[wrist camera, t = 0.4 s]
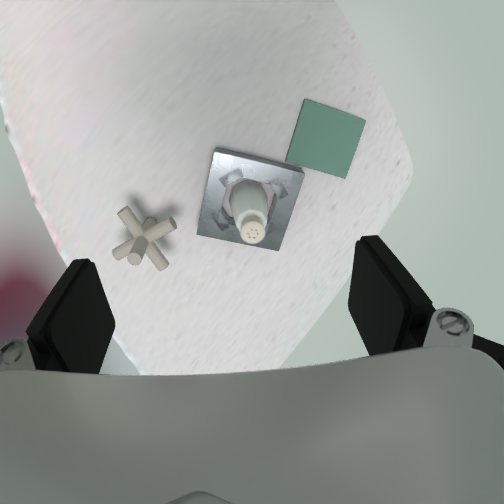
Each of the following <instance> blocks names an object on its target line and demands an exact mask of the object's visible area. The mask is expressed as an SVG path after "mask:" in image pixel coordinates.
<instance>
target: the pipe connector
mask: <svg viewBox="0 0 504 504" xmlns="http://www.w3.org/2000/svg"><path fill="white" fill-rule="evenodd" d="M117 215H118V216H119V217H120V219H121V220H122V222H123V223H124V224H125V226H126V227H127V229H128V230H129V231H130V233H131V234H132V236H133V238H132V239H130V240H128V241H126V242H125V243H123V244H121V245H120V246H118V247H116V248H114V249H113V251H112V253H113V256H114V258H115V259H116V260H121V259H122V258H124V257H126V256H128V257H127V259H128V261H129V263H130V264H132V265H139V264H140V263H141V261H142V258H143V256H144V254H145V253H146V254H147V256H148V257H149V258H150V260H151V261H152V262H153V264H154V265H155V266H156V268H157V269H158V270H159V271H162V270H164V269H166V268H167V267H168V265H169V262H168V261H167V259H166V258H165V257H164V255H163V254H162V253H161V251H160V250H159V249H158V247H157V246H156V245H155V243H154V242H153V241H155V240H157V239H158V238H160V237H162V236H164V235H166V234H168V233H170V232H171V231H173V230H175V229H177V225H176V222H175V221H174V219H173V218H172V217H169V218H167V219H165V220H163V221H161V222H160V223H158V224H157V221H156V220H155V219H154V218H148V219H147V220H146V221H145V223H144V225H143V226H142V225H141V224H140V222H139V221H138V219H137V218H136V216H135V215H134V214H133V212H132V211H131V209H130V208H129V206H126V207H124V208H123V209H121V210H120V211H119V212H118V213H117Z"/></svg>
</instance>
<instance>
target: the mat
mask: <svg viewBox="0 0 504 504" xmlns="http://www.w3.org/2000/svg"><path fill="white" fill-rule="evenodd" d="M365 122H366V120H363V119H361V118H358V117H355V116H353V115H350V114H347V113H345V112H342V111H339V110H336V109H334V108H331V107H328V106H325V105H322V104H319V103H316V102H313V101H310V100H307V99H304V102H303V105H302V108H301V111H300V115H299V118H298V121H297V124H296V127H295V131H294V134H293V137H292V140H291V144H290V147H289V150H288V153H287V156H286V160H285V161H286V162H289V163H293V164H296V165H300V166H304V167H307V168H311V169H314V170H318V171H321V172H324V173H328V174H331V175H334V176H338V177H341V178H344V179H345V178H346V176H347V173H348V170H349V167H350V165H351V162H352V159H353V156H354V154H355V151H356V148H357V145H358V142H359V140H360V137H361V134H362V131H363V128H364V125H365Z"/></svg>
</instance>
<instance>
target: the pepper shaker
mask: <svg viewBox="0 0 504 504" xmlns="http://www.w3.org/2000/svg"><path fill="white" fill-rule="evenodd" d="M229 202H230V206H231V210H232V214H233V217H234V221H235V224H236V226H237V228H238V229H239V231H240V235H241V238H242V239H243V240H244V241H245V242H247V243H250V244H255V243H258V242H260V241H261V240H263V238H264V236H265V232H266V231H265V227H266V224H267V219H268V216H267V194H266V193H265V191H264V189H263V187H262V185H261V184H260V183H256V182H253V181H249V180H245V181H243V182H241V183H239V184H237V185H235V186H233V188H232V191H231V195H230V198H229Z"/></svg>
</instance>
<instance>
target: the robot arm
mask: <svg viewBox="0 0 504 504" xmlns="http://www.w3.org/2000/svg"><path fill="white" fill-rule="evenodd" d="M348 308H349V312H350V314H351V316H352V318H353V320H354V323H355V324H356V327H357V329H358V331H359V333H360V336H361V338H362V340H363V342H364V344H365V347H366V349H367V351H368V353H369V356H367V357H361V358H355V359H349V360H343V361H336V362H330V363H323V364H315V365H307V366H299V367H290V368H282V369H270V370H259V371H247V372H233V373H216V374H193V375H110V374H99V372H100V369H101V366H102V363H103V360H104V357H105V354H106V351H107V348H108V346H109V343H110V340H111V338H112V335H113V332H114V329H115V319H114V317H113V314H112V311H111V309H110V306H109V303H108V301H107V298H106V295H105V292H104V289H103V287H102V284H101V281H100V278H99V275H98V272H97V269H96V266H95V264H94V262H91V261H90V260H89V259H88V258H87V259H76V260H73V261H72V263H71V264H70V265H69V267H68V268H67V269H66V271H65V272H64V274H63V275H62V276H61V278H60V279H59V281H58V282H57V284H56V285H55V287H54V288H53V289H52V291H51V293H50V294H49V295H48V297H47V298H46V300H45V301H44V303H43V304H42V306H41V308H40V309H39V311H38V312H37V314H36V315H35V317H34V318H33V320H32V322H31V323H30V325H29V327H28V328H27V330H26V333H27V335H28V336H29V338H28V340H27V341H26V340H24V339H23V338H13V339H11V340H8V341H7V342H5V343H4V344H2V345H1V346H0V504H504V345H501V344H498V343H495V342H493V341H490V340H487V339H485V338H483V337H480V336H477V335H475V334H473V333H474V325H473V323H472V321H471V319H470V318H469V317H468V316H467V315H466V314H465V313H463V312H462V311H459V310H457V309H453V308H441V309H438V310H437V311H436V310H435V308H434V307H433V306H432V301H431V300H430V299H429V297H428V296H427V295H426V293H425V292H424V291H423V289H422V288H421V287H420V286H419V285H418V283H417V282H416V281H415V279H414V278H413V277H412V276H411V274H410V273H409V272H408V271H407V270H406V268H405V267H404V266H403V265H402V264H401V262H400V261H399V260H398V259H397V257H396V256H395V255H394V254H393V253H392V251H391V250H390V249H389V248H388V247H387V246H386V244H385V243H384V242H383V241H382V240H381V239H380V237H379V236H377V235H372V236H362V237H361V239H360V240H359V241H356V245H355V253H354V262H353V270H352V278H351V285H350V292H349V299H348Z"/></svg>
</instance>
